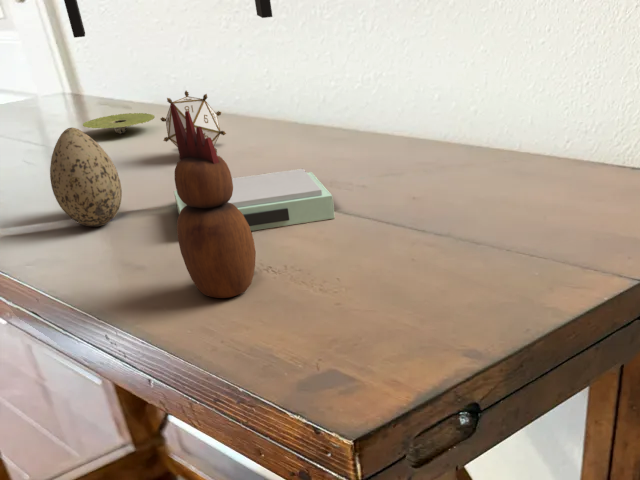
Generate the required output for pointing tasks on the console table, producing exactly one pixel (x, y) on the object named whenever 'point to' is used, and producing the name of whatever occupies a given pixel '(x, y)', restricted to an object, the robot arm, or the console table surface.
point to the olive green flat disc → (119, 121)
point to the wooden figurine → (210, 217)
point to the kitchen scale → (279, 199)
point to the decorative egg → (84, 179)
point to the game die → (194, 117)
